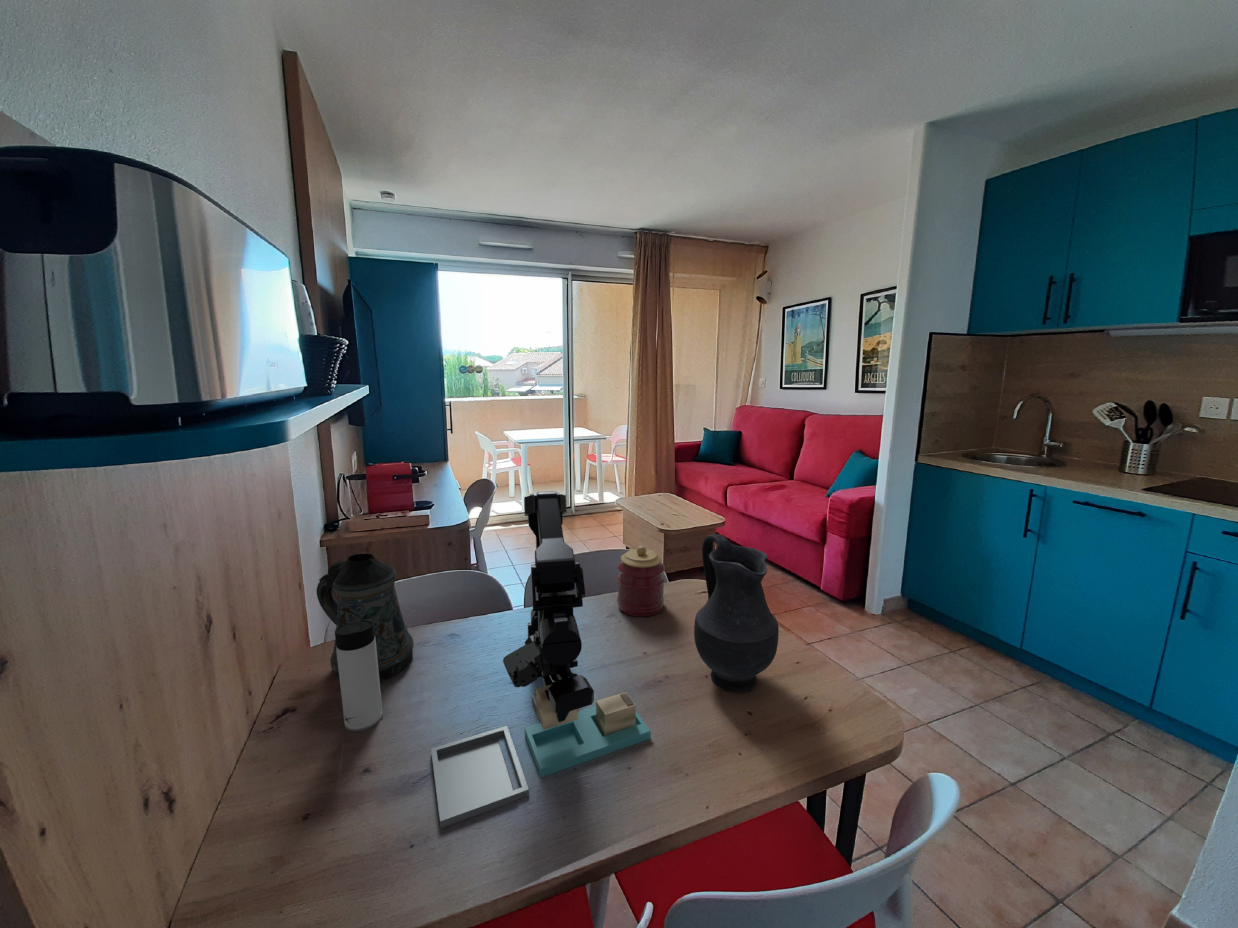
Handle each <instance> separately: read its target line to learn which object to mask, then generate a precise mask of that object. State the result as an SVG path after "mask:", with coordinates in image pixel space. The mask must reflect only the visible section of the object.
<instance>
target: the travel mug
mask: <svg viewBox="0 0 1238 928" xmlns="http://www.w3.org/2000/svg"><path fill="white" fill-rule="evenodd" d="M334 637H335V638H334V640H335V639H336V652H337V660H338V669H339V678H340V681H339V684H340V685H339V686H340V694H341V695H340V696H341V701H342V702H341V703H342V713H343V719H344V720H343V722H344V729H345V730H348V731H351V732H360V731H366V730H368V729H370V728H372V727H374V726H375V725H377V724H378V723H379V722H380V721H382V720H383V716H384V713H383V705H382V693H381V683H380V681H379V671H378V660H377V650H376V640H375V634H374V623H373V622H372V621H369V620H362V621H360V622H355V623H351V624H349V623H347V624H344V625H342V626H340V627H338V628H337V629H336V628H335V630H334Z"/></svg>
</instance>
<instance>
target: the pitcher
mask: <svg viewBox="0 0 1238 928" xmlns="http://www.w3.org/2000/svg"><path fill="white" fill-rule="evenodd" d="M714 542H715V545H716V548H714ZM701 556H702V557H701V558H702V564H703V565H702V566H703V571H704V577H705V579H704V580H705V584H706V591H707V601H706V603H705V604H704V605H703V606H702V607H701V608H700V609H699V610H697V612H696V615H695V618H694V625H693V635H694V636H693V638H694V643H695V647H696V650H697V653H698V654H699V657H700V658H701V660H702V661H703V662H704V664H705V665H706V666H707V668H709V669H710V678H711V681H712V683H713V684H714V685H715V686H716V687H717V688H719V689H721V690H723V691H725V692H728V693H732V694H733V693H735V694H742V693H747V692H749V691H752V690H753V689H754V688H756V686H757V684H758V683H757V675H759V674H761V673H762V672H764V671H765V670H767V668H769V666H770V665H771V664H772V663H773V662H774V661H773V660H775V658H776V657H775V656H776V654H777V651H778V644H779V635H780V634H779V633H780V632H779V630H780V629H779V627H780V626H779V622H778V620H777V618H776V616H775V615H774V614H773V613H772V612H771V610H770V607H769V606H768V602H767V600H766V595H765V592H764V591H765V590H764V587H763V584H762V581H763V579H764V577H765V576H766V574H767V572H768V568H767V565H766V561H767V559H768V554H767V553H766V552H764V551H762V550H761V549H760V550H759V549H757V548H753V547H749V546H741V545H734V544H732V543H731V542H730V541H729V540H728V539H727V538H726V537H725V536H724V535H722V534H719V533H717V534H708V535H706V536H705V537H704V539H703V541H702V545H701Z"/></svg>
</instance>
